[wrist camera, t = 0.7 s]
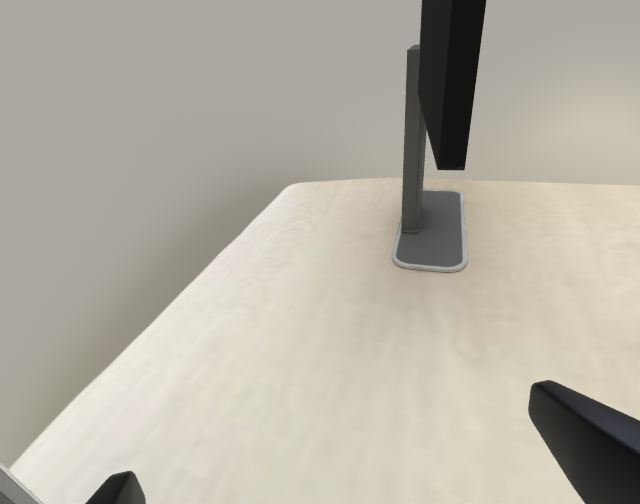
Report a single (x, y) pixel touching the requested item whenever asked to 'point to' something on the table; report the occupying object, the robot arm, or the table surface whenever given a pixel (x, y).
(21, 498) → the tumbler
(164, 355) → the table surface
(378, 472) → the table surface
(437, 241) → the computer monitor
